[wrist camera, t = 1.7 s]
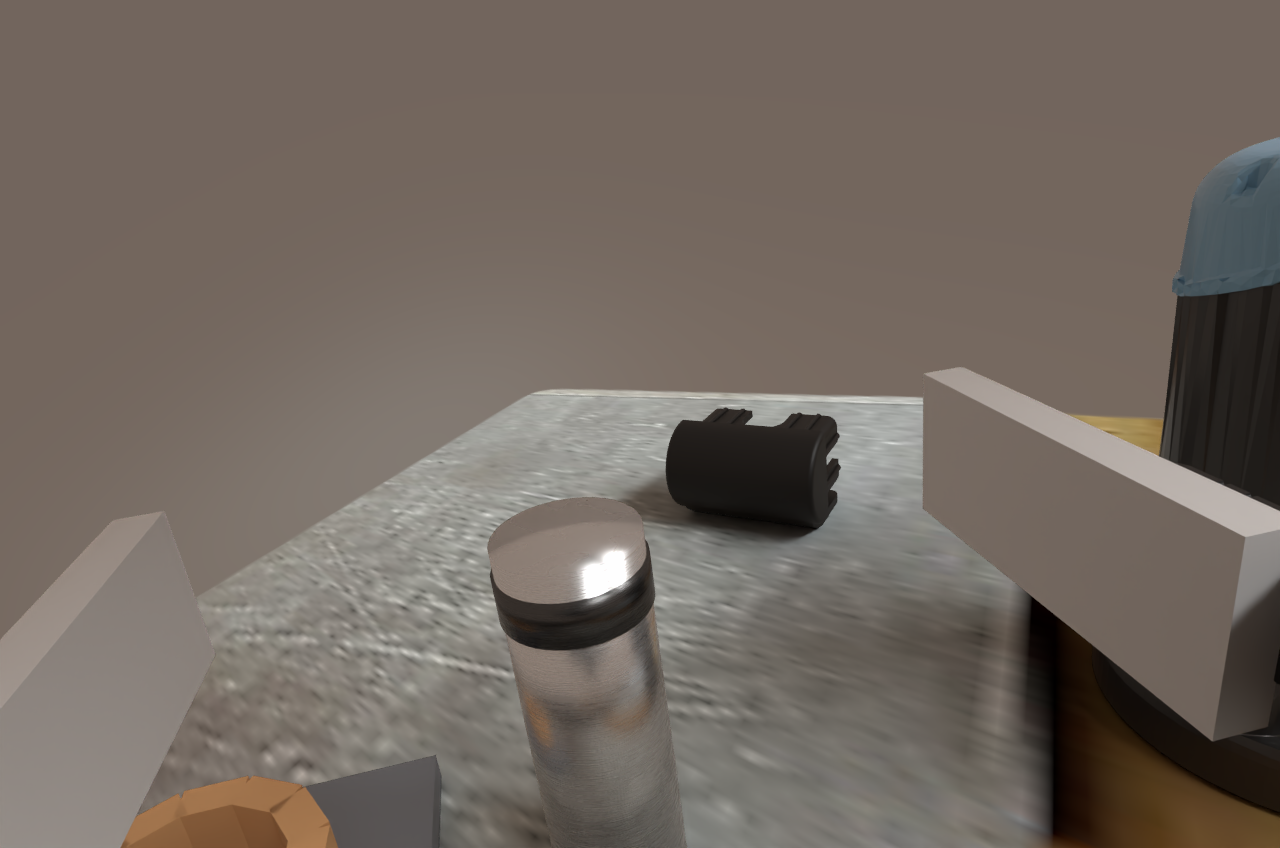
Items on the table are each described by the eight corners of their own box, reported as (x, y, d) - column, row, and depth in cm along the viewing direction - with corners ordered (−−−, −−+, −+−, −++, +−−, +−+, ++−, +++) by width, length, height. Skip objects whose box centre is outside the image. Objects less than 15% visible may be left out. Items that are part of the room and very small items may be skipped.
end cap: (670, 529, 55) (659, 436, 52) (713, 484, 60) (705, 399, 58) (814, 551, 50) (809, 450, 48) (846, 500, 56) (843, 407, 53)
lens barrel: (671, 787, 34) (629, 484, 29) (706, 895, 29) (662, 554, 24) (548, 819, 33) (482, 513, 28) (562, 936, 28) (486, 591, 23)
